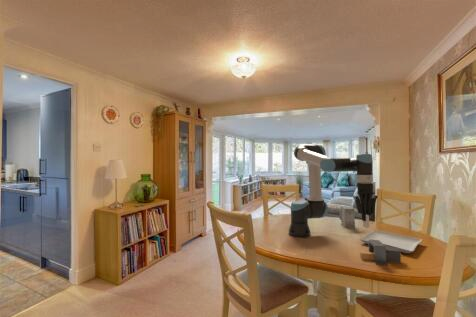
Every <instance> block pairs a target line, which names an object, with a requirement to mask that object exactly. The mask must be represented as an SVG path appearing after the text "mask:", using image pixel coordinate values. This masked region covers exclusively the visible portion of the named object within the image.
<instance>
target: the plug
mask: <svg viewBox="0 0 476 317" xmlns="http://www.w3.org/2000/svg"><path fill="white" fill-rule="evenodd" d="M401 257H402V258H403V257H404V255H403V254H402V252H400V251H399V250H398V249H397V248H393V247H386V263H394V264H401V262H402V260H401ZM359 258H360V259H361V260H368V261H374V252H369V251H362V250H360V251H359Z"/></svg>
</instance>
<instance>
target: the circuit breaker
mask: <svg viewBox="0 0 476 317" xmlns="http://www.w3.org/2000/svg"><path fill="white" fill-rule="evenodd" d="M338 214H339V215H338V217H339V220H340V221H341V226H342V227H344V228H345V229H356V227H355V226H356V221H355V214H356V210H355V208H354V207H353V206H341V207H340V209H339V212H338Z"/></svg>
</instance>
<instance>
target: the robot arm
mask: <svg viewBox="0 0 476 317" xmlns="http://www.w3.org/2000/svg"><path fill="white" fill-rule="evenodd" d="M293 156H294V157H295V158H296V159H297V160H298V161H301V162H306V165H307V166H308V167H307V168H308V193H309V195H308V198H307V200H303V199H302V200H300V199H299V200H295V201H292V202H291V204H290V225H289V228H288V234H289V235H290V236H292V237H295V238H308V237H310V236H311V230H310V226H309V220H310V219H312V220H313V219H322V218H325V217H326V216H327V214H328V213H329V207H328V205H327V204H328V203H327V202H326V201H325V199H324V198H323V196H322V195H323V192H322V172H324V173H325V172H326V173H331V172H332V173H334V172H356V182H357V183H356V186H357V188H356V189H357V193H356V195H353V196H352V197H353V198H352V199H354V202H355V205H356V206H355V207H356V209H357V213H358V214H360V215H361V221H362V223H363V224H362V225H363V227H364V228H367V229H368V228H370V221H371V216H372V214H374V212H375V207H376V202H377V199H378V197H379V196H378V195H375V194H374V183H373V182H374V174H373V173H374V171H373V170H374V169H373V167H374V166H373V162H374V161H373V155H372V154H371V153H358V154H356V156H355V157H346V158H345V157H343V158H342V157H341V158H340V157H339V158H336V157H330V156H328V155H327V154H326V149H325V146H323V145H321V144H304V143H303V144H299V145H297V146H296V147H295V148H294V152H293ZM321 171H322V172H321Z"/></svg>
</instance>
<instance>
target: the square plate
mask: <svg viewBox="0 0 476 317" xmlns="http://www.w3.org/2000/svg"><path fill="white" fill-rule="evenodd" d="M369 240H379V241H380V242H381V243H382V244H383V245H385V246H386V247H393V248H397V249H398V250H399V251H400V252H401V253H404V254H411V253H413V252H414V251H415V250H416V248H417V247H418V245H419V244H420V243H421V242H423V239H422V238H418V237H413V236H408V235H404V234H399V233H395V232H388V231H383V230H375V229H374V230H372V231H370V232H368V233H367V234H365V235H364V236H362V237H361V238H360V239H359V241H361V242H362V243H364V244H367V245H369Z"/></svg>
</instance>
